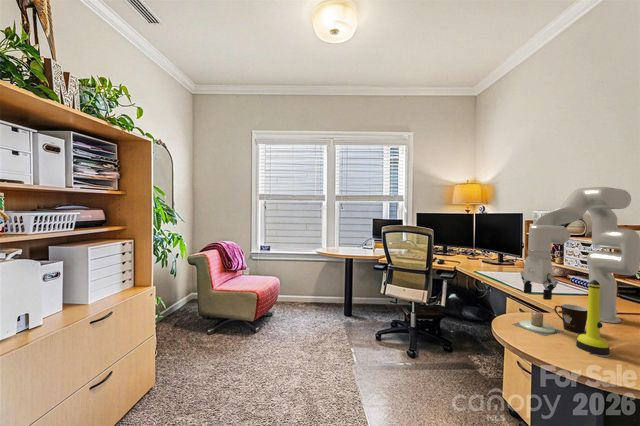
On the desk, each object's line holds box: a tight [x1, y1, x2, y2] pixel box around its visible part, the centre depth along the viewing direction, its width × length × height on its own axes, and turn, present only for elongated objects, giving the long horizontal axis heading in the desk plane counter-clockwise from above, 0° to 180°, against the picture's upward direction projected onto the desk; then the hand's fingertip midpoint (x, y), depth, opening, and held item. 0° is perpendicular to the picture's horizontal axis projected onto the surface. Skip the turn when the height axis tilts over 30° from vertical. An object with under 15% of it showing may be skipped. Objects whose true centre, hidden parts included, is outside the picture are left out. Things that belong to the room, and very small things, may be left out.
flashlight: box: [575, 280, 611, 358], centre depth 105 cm, size 25×9×9 cm
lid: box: [519, 311, 556, 334], centre depth 124 cm, size 12×12×6 cm
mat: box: [511, 322, 565, 337], centre depth 124 cm, size 13×13×1 cm
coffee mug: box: [554, 303, 588, 335], centre depth 124 cm, size 12×9×10 cm
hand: (537, 296), depth 124 cm, fingers open, 9 cm apart
